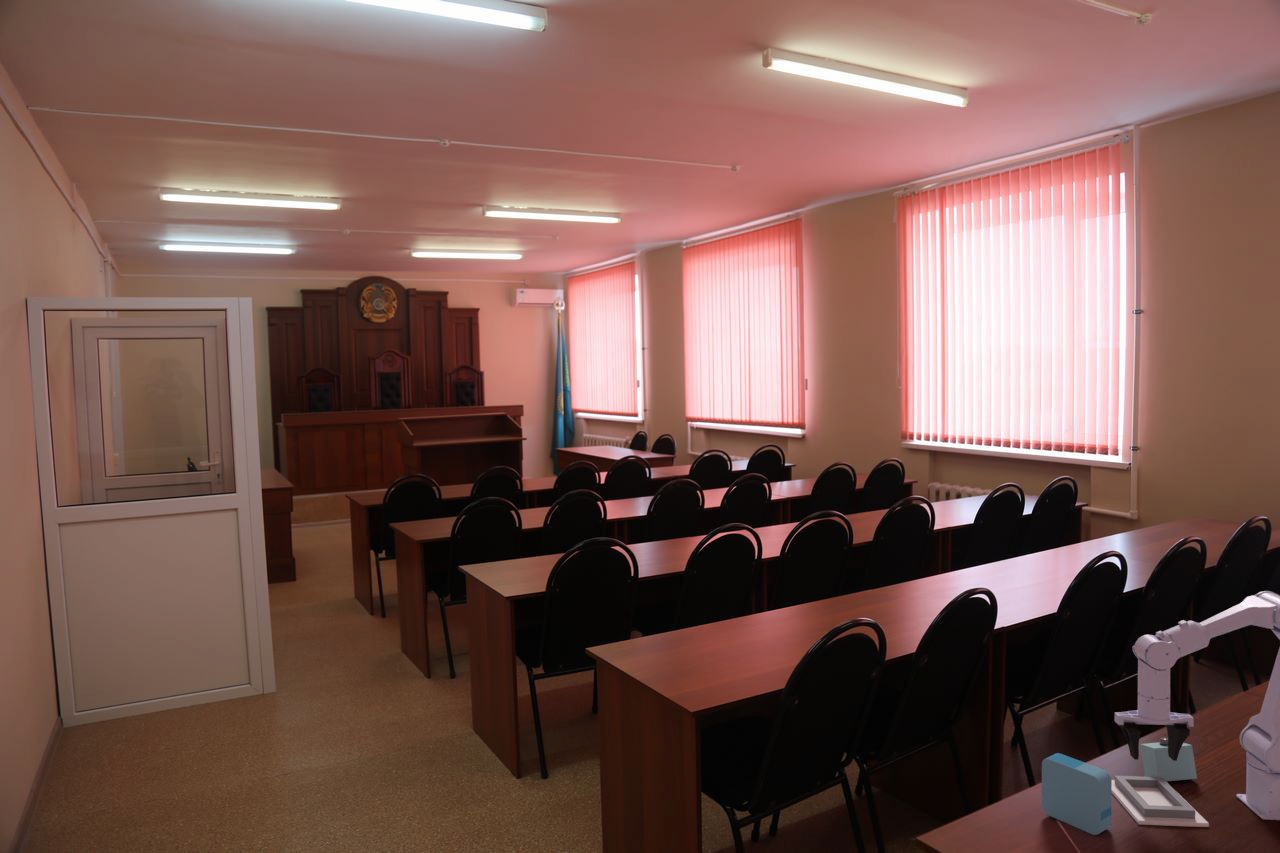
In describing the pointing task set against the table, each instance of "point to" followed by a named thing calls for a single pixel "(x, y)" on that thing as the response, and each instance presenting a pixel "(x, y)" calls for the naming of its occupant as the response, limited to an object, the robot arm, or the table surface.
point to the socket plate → (1154, 802)
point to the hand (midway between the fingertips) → (1153, 758)
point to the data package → (1076, 793)
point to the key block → (1168, 761)
